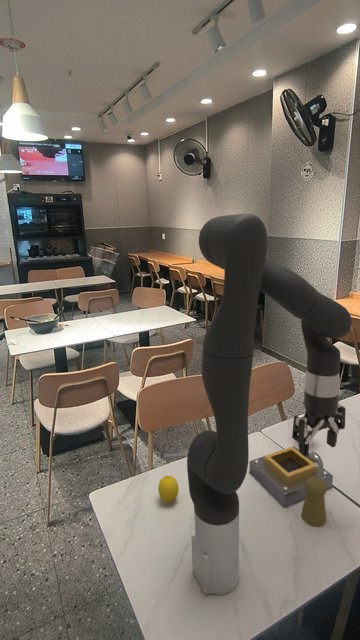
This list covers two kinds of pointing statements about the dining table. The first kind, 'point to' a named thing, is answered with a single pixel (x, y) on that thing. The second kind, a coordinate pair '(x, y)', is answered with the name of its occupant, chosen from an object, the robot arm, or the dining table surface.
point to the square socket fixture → (288, 474)
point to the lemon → (168, 488)
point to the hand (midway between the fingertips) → (317, 450)
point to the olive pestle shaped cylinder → (314, 502)
